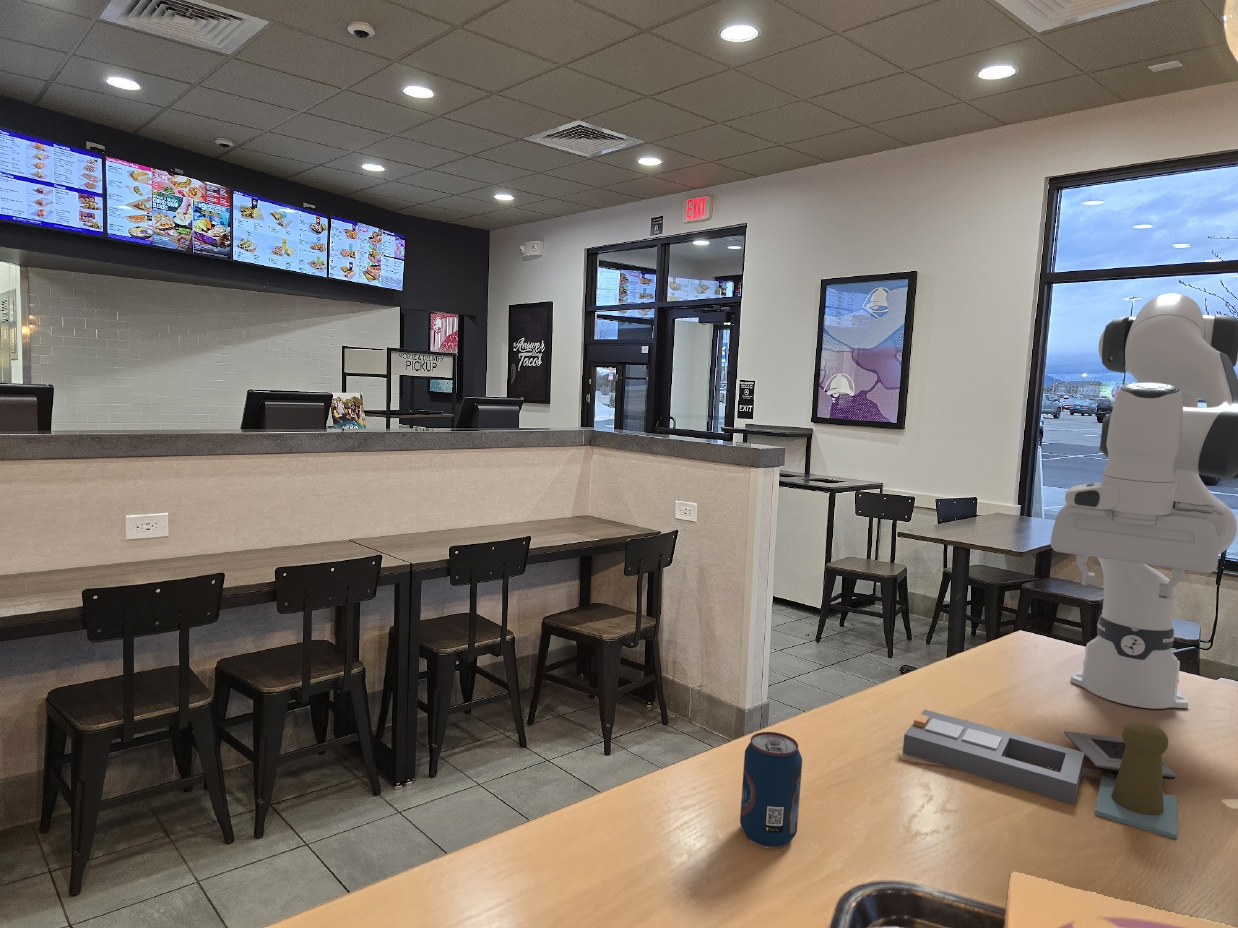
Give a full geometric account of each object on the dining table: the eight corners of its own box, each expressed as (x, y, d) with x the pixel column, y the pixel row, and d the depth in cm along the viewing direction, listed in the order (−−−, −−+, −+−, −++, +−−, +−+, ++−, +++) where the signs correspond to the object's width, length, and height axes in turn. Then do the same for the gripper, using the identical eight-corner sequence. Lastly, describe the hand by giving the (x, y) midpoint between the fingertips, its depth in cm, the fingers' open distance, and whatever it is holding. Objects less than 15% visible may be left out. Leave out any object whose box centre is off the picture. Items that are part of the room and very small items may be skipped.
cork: (1156, 820, 104) (1166, 740, 102) (1105, 800, 108) (1113, 724, 107) (1169, 805, 108) (1178, 728, 106) (1119, 786, 112) (1127, 712, 111)
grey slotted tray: (922, 726, 131) (924, 704, 130) (1082, 771, 117) (1085, 747, 117) (902, 752, 121) (904, 728, 120) (1074, 804, 108) (1077, 778, 107)
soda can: (736, 817, 100) (742, 727, 99) (790, 820, 100) (797, 730, 99) (742, 849, 94) (749, 753, 92) (801, 853, 93) (808, 757, 92)
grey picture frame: (1176, 789, 112) (1177, 773, 112) (1095, 778, 114) (1096, 762, 114) (1134, 752, 125) (1136, 738, 125) (1062, 743, 127) (1064, 729, 127)
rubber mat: (1101, 779, 115) (1101, 775, 115) (1176, 800, 110) (1176, 796, 110) (1094, 814, 105) (1095, 810, 105) (1176, 839, 100) (1177, 834, 100)
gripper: (1226, 503, 109) (1213, 599, 111) (1059, 486, 120) (1049, 573, 122) (1229, 510, 104) (1215, 611, 106) (1054, 491, 115) (1044, 583, 117)
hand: (1125, 591), depth 114 cm, fingers open, 8 cm apart
